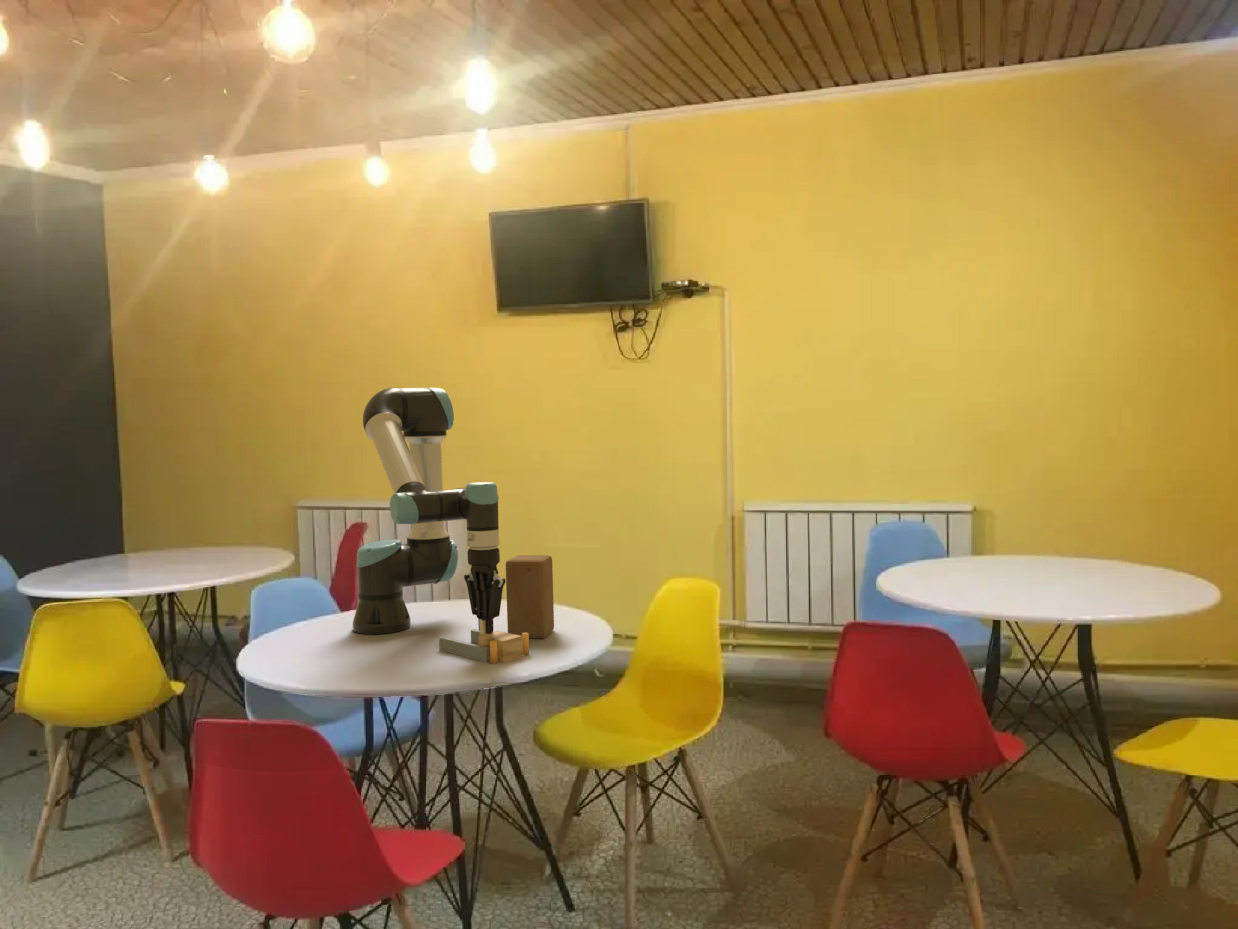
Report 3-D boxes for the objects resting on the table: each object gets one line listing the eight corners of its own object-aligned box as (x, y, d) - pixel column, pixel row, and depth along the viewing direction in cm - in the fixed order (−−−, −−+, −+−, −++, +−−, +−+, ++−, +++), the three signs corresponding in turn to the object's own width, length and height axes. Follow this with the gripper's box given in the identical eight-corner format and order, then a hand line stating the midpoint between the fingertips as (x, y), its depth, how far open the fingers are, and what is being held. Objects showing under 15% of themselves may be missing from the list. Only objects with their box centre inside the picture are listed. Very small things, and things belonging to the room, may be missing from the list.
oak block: (478, 656, 216) (478, 635, 216) (498, 651, 220) (497, 630, 220) (503, 662, 210) (502, 641, 210) (523, 657, 214) (522, 636, 214)
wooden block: (544, 639, 231) (542, 560, 229) (506, 638, 233) (504, 560, 231) (555, 630, 240) (553, 554, 239) (518, 629, 242) (516, 554, 241)
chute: (438, 650, 223) (438, 629, 222) (475, 641, 231) (474, 621, 230) (493, 664, 208) (492, 642, 208) (530, 654, 217) (530, 633, 216)
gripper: (453, 547, 219) (457, 644, 220) (488, 551, 210) (491, 653, 211) (478, 543, 225) (481, 638, 226) (513, 547, 216) (516, 646, 217)
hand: (486, 645), depth 219 cm, fingers closed
